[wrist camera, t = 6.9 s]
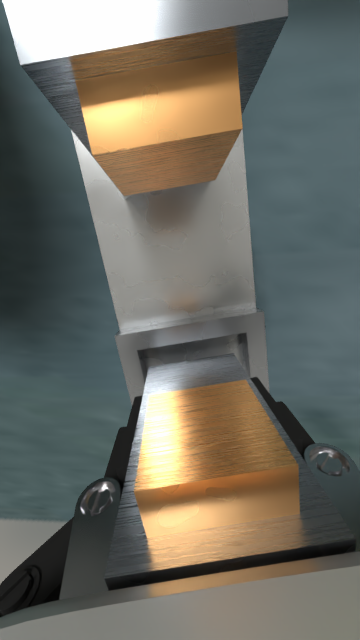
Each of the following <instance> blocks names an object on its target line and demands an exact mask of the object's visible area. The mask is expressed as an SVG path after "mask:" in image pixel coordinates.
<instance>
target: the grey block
mask: <svg viewBox="0 0 360 640" xmlns="http://www.w3.org/2000/svg"><path fill="white" fill-rule="evenodd" d="M355 549H356V538H355V537H354V535H353V534H352V532H351V530H350V529H349V527H348V526H347V524H346V523H345V521H344V520H343V518H342V517H341V515H340V514H339V512H338V511H337V509H336V508H335V506H334V505H333V503H332V502H331V500H330V499H329V497H328V496H327V494H326V493H325V491H324V490H323V488H322V486H321V485H320V483H319V482H318V480H317V479H316V477H315V476H314V474H313V473H312V471H311V470H310V468H309V467H308V465H307V464H306V462H305V461H304V459H303V458H302V456H301V455H300V453H299V452H298V450H297V449H296V447H295V446H294V444H293V443H292V441H291V439H290V438H289V436H288V435H287V433H286V432H285V430H284V429H283V427H282V426H281V424H280V423H279V421H278V420H277V418H276V417H275V415H274V414H273V412H272V411H271V409H270V408H269V406H268V405H267V403H266V402H265V400H264V399H263V397H262V395H261V394H260V392H259V391H258V389H257V388H256V386H255V385H254V383H253V382H252V380H251V379H250V377H249V376H248V374H247V373H246V371H245V370H244V368H243V367H242V365H241V364H240V362H239V361H238V359H237V358H236V356H235V355H234V353H230V354H224V355H218V356H212V357H206V358H200V359H194V360H188V361H182V362H176V363H169V364H163V365H157V366H151V367H149V369H148V373H147V378H146V383H145V388H144V392H143V397H142V402H141V406H140V411H139V416H138V421H137V425H136V430H135V435H134V440H133V444H132V449H131V454H130V459H129V463H128V468H127V473H126V478H125V482H124V487H123V492H122V496H121V501H120V506H119V511H118V515H117V520H116V525H115V530H114V534H113V539H112V544H111V549H110V553H109V558H108V563H107V567H106V572H105V577H104V580H105V582H106V585H107V588H108V590H109V591H111V590H117V589H123V588H129V587H135V586H141V585H148V584H154V583H160V582H166V581H172V580H178V579H184V578H190V577H196V576H203V575H209V574H215V573H222V572H228V571H234V570H241V569H247V568H253V567H260V566H266V565H272V564H279V563H285V562H292V561H299V560H305V559H312V558H318V557H325V556H332V555H338V554H345V553H352V552H355Z"/></svg>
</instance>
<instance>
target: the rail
mask: <svg viewBox="0 0 360 640" xmlns="http://www.w3.org/2000/svg"><path fill="white" fill-rule="evenodd" d="M3 3H4V7H5V11H6V14H7V18H8V21H9V25H10V29H11V32H12V36H13V40H14V43H15V47H16V51H17V54H18V58H19V61H20V65H21V66H22V68H23V69H24V70H25V71H26V73H27V74H28V75H29V76H30V78H31V79H32V80H33V82H34V83H35V84H36V85H37V87H38V88H39V89H40V90H41V92H42V93H43V94H44V96H45V97H46V98H47V99H48V101H49V102H50V103H51V104H52V106H53V107H54V108H55V110H56V111H57V112H58V113H59V115H60V116H61V117H62V118H63V120H64V121H65V122H66V123H67V125H68V126H69V127H70V129H71V131H72V135H73V139H74V143H75V147H76V151H77V155H78V159H79V163H80V168H81V172H82V176H83V180H84V184H85V188H86V192H87V196H88V201H89V205H90V209H91V213H92V217H93V221H94V225H95V229H96V233H97V238H98V242H99V246H100V250H101V254H102V258H103V262H104V266H105V270H106V275H107V279H108V283H109V287H110V291H111V295H112V299H113V303H114V308H115V312H116V316H117V320H118V324H119V328H120V330H119V331H118V332H117V334H116V335H115V340H116V343H117V347H118V351H119V355H120V359H121V363H122V367H123V371H124V375H125V379H126V383H127V387H128V391H129V395H130V399H131V403H132V405H133V402H134V398H135V397H136V396H142V395H143V392H144V388H145V383H146V378H147V373H148V369H149V367H151V366H157V365H163V364H169V363H176V362H182V361H188V360H194V359H200V358H206V357H212V356H218V355H224V354H230V353H234V355H235V356H236V358H237V359H238V361H239V362H240V364H241V365H242V367H243V368H244V370H245V371H246V373H247V374H248V376H249V377H250V378H252V377H258V378H259V380H260V381H261V383H262V384H263V385H264V387H265V388H266V389H267V391H268V392H269V380H268V365H267V351H266V336H265V321H264V311H262V310H260V309H259V308H257V307H256V302H255V289H254V276H253V262H252V249H251V236H250V223H249V210H248V197H247V184H246V170H245V157H244V144H243V131H242V116H241V115H242V113H243V111H244V109H245V107H246V105H247V102H248V100H249V98H250V96H251V94H252V92H253V90H254V88H255V85H256V83H257V81H258V79H259V77H260V75H261V73H262V71H263V68H264V66H265V64H266V62H267V60H268V58H269V56H270V53H271V51H272V49H273V47H274V45H275V43H276V41H277V39H278V36H279V34H280V32H281V30H282V28H283V26H284V24H285V22H286V19H287V17H288V0H3Z"/></svg>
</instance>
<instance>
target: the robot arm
mask: <svg viewBox="0 0 360 640" xmlns="http://www.w3.org/2000/svg"><path fill="white" fill-rule="evenodd" d="M250 379H251V380H252V382H253V383H254V385H255V386H256V388H257V389H258V391H259V392H260V394H261V395H262V397H263V399H264V400H265V402H266V403H267V405H268V406H269V408H270V409H271V411H272V412H273V414H274V415H275V417H276V418H277V420H278V421H279V423H280V424H281V426H282V427H283V429H284V430H285V432H286V433H287V435H288V436H289V438H290V439H291V441H292V443H293V444H294V446H295V447H296V449H297V450H298V452H299V453H300V455H301V456H302V458H303V459H304V461H305V462H306V464H307V465H308V467H309V468H310V470H311V471H312V473H313V474H314V476H315V477H316V479H317V480H318V482H319V483H320V485H321V486H322V488H323V490H324V491H325V493H326V494H327V496H328V497H329V499H330V500H331V502H332V503H333V505H334V506H335V508H336V509H337V511H338V512H339V514H340V515H341V517H342V518H343V520H344V521H345V523H346V524H347V526H348V527H349V529H350V530H351V532H352V534H353V535H354V537H355V538H356V549H355V552H352V553H345V554H338V555H332V556H325V557H318V558H312V559H305V560H299V561H292V562H285V563H279V564H272V565H266V566H260V567H253V568H247V569H241V570H234V571H228V572H222V573H215V574H209V575H203V576H196V577H190V578H184V579H178V580H172V581H166V582H160V583H154V584H148V585H141V586H135V587H129V588H123V589H117V590H111V591H109V590H108V588H107V585H106V582H105V580H104V577H105V572H106V567H107V563H108V558H109V553H110V549H111V544H112V539H113V534H114V530H115V525H116V520H117V515H118V511H119V506H120V501H121V496H122V492H123V487H124V482H125V478H126V473H127V468H128V463H129V459H130V454H131V449H132V444H133V440H134V435H135V430H136V425H137V421H138V416H139V411H140V406H141V402H142V397H143V395H142V396H136V397H135V398H134V402H133V405H132V409H131V413H130V417H129V420H128V424H127V427H121V428H120V429H119V431H118V434H117V437H116V440H115V444H114V447H113V450H112V453H111V457H110V460H109V463H108V466H107V470H106V473H105V476H104V478H101V479H98V480H96V481H94V482H93V483H91V484H90V485H89V486H87V487H86V489H85V490H84V491H83V492H82V493H81V495H80V496H79V498H78V501H77V504H76V507H75V513H74V517H73V518H72V519H71V520H70V521H69V522H67V523H66V524H65V525H64V526H63V527H62V528H61V529H60V530H58V532H56V533H55V534H54V535H53V536H52V537H51V538H50V539H48V541H46V542H45V543H44V544H43V545H42V546H41V547H40V548H38V550H36V551H35V552H34V553H33V554H32V555H31V556H30V557H28V558H27V559H26V560H25V561H24V562H23V563H22V564H21V565H19V566H18V567H17V568H16V569H15V570H14V571H13V572H12V573H11V574H10V575H9V576H8V577H7V578H6V579H5V580H4V581H3V582H2V583H1V585H0V640H360V471H359V469H358V468H357V466H356V464H355V463H354V461H353V460H352V459H351V457H350V456H349V455H348V454H347V453H345V452H344V451H343V450H341V449H339V448H337V447H335V446H332V445H329V444H324V443H316V444H315V442H314V441H313V440H312V438H311V437H310V436H309V435H308V433H307V432H306V431H305V429H304V428H303V427H302V426H301V424H300V423H299V422H298V420H297V419H296V418H295V417H294V415H293V414H292V413H291V411H290V410H289V409H288V408H287V406H286V405H285V404H284V403H283V402H281V401H280V402H275V400H274V399H273V398H272V396H271V395H270V393H269V392H268V391H267V389H266V388H265V387H264V385H263V384H262V383H261V381H260V380H259V378H258V377H252V378H250Z"/></svg>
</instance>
